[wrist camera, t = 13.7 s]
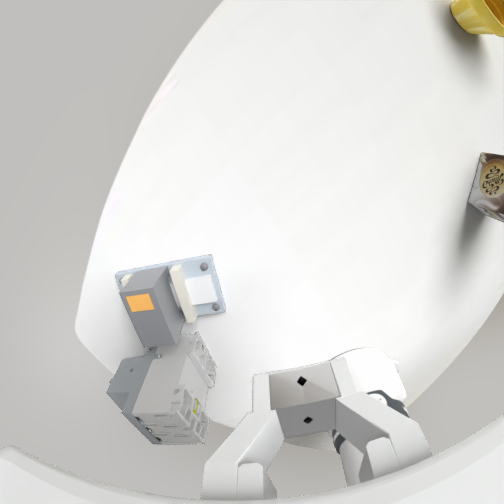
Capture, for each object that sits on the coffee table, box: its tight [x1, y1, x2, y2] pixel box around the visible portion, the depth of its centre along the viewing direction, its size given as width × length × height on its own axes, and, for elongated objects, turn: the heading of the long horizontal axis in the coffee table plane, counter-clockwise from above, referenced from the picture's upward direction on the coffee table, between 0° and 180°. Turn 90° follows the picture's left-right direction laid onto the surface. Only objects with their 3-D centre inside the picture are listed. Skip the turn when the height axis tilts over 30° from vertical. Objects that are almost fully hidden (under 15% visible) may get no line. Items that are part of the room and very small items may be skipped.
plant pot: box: [451, 0, 504, 37], centre depth 15 cm, size 10×10×10 cm
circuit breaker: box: [107, 332, 217, 445], centre depth 34 cm, size 8×14×15 cm, turn 107°
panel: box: [115, 254, 226, 323], centre depth 35 cm, size 8×14×3 cm, turn 101°
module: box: [120, 266, 185, 347], centre depth 32 cm, size 8×4×6 cm, turn 11°
